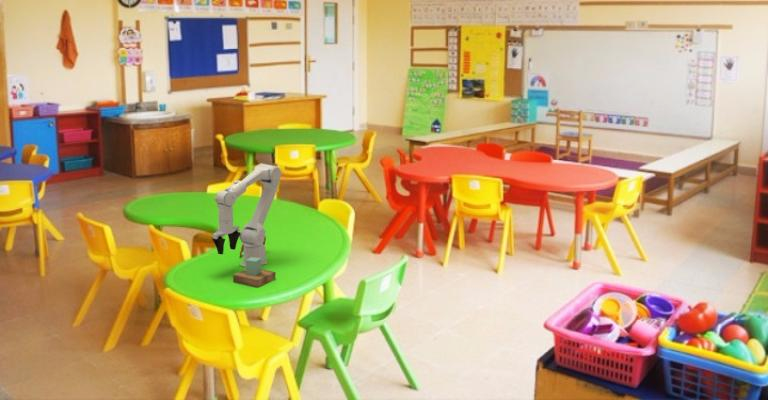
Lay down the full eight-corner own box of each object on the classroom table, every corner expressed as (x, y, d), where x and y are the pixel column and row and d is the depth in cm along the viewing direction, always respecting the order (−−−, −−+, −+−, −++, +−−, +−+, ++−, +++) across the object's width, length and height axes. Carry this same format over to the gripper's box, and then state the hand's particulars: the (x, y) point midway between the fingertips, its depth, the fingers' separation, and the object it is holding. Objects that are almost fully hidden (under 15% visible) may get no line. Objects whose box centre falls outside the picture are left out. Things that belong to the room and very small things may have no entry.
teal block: (251, 271, 322) (251, 256, 321) (261, 272, 321) (261, 258, 319) (246, 274, 318) (245, 260, 317) (256, 275, 317) (255, 261, 315)
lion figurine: (261, 250, 360) (260, 231, 357) (269, 252, 356) (268, 233, 354) (235, 257, 349) (235, 237, 346) (243, 260, 345) (243, 240, 343)
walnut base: (252, 273, 328) (252, 266, 327) (275, 279, 322) (275, 272, 322) (233, 282, 318) (233, 274, 317) (256, 287, 312) (256, 280, 311)
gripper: (229, 214, 330) (230, 245, 334) (206, 222, 318) (207, 254, 321) (243, 216, 327) (243, 248, 330) (219, 224, 315) (220, 257, 318)
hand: (226, 251), depth 326 cm, fingers open, 7 cm apart
